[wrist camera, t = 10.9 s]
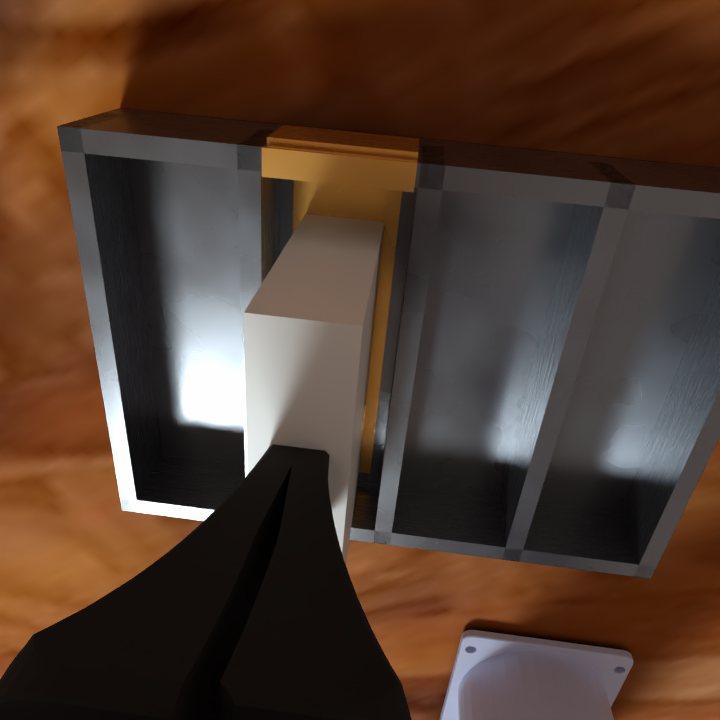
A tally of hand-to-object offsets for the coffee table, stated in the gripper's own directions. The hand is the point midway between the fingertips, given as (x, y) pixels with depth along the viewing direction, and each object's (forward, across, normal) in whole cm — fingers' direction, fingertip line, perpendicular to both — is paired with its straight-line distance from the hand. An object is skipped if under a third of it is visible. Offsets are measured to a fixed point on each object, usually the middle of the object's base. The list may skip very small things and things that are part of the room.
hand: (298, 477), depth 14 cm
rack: (+8, -2, 0) cm, 8 cm away
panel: (+7, 0, +1) cm, 7 cm away
